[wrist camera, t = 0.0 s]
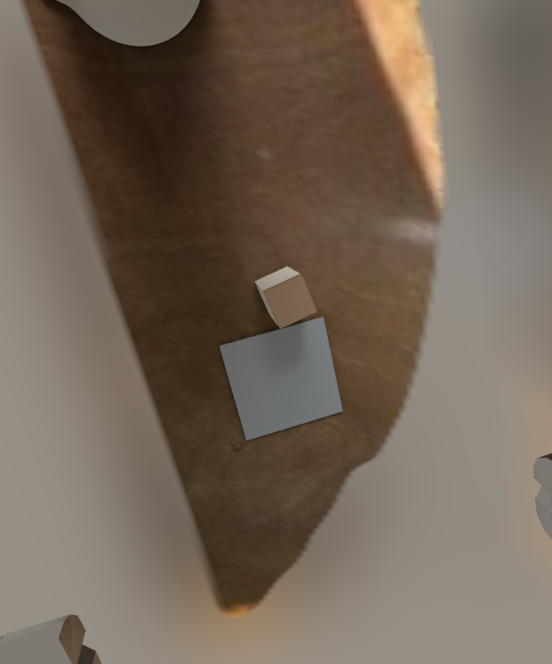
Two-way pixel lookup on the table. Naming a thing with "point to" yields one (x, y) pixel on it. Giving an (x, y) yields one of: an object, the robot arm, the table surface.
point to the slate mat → (282, 378)
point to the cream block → (285, 296)
